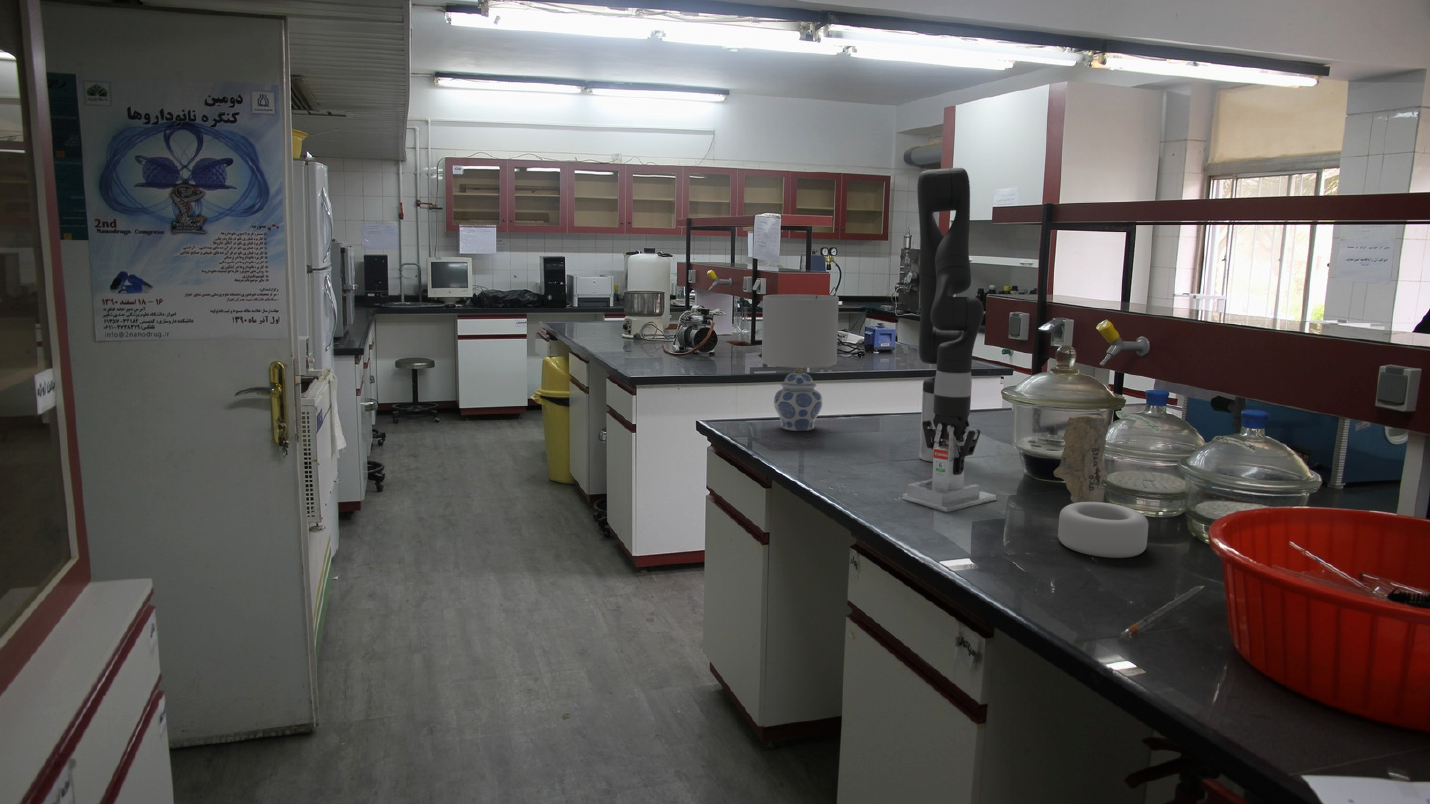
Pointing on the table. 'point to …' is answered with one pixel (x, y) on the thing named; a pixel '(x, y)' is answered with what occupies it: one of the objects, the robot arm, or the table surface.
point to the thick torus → (1103, 529)
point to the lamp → (799, 351)
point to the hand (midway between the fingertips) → (948, 471)
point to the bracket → (946, 496)
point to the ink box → (945, 467)
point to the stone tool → (1083, 456)
